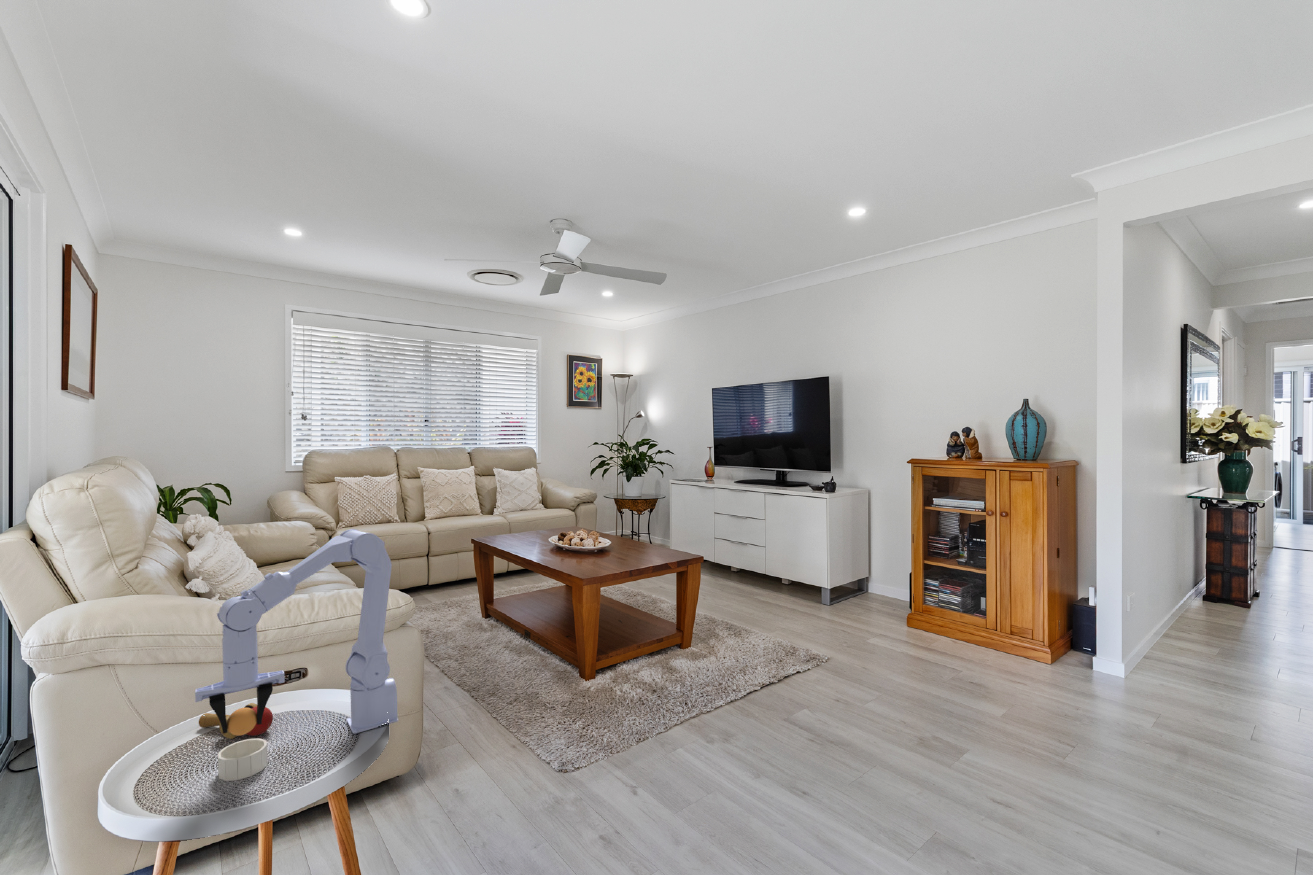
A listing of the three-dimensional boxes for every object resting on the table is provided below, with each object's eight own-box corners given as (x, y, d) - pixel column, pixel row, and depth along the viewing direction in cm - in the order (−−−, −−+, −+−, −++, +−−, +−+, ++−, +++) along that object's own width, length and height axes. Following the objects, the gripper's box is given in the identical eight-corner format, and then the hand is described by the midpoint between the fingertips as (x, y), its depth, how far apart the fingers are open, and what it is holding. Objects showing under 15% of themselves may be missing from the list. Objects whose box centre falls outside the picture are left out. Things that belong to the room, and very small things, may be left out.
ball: (256, 725, 124) (256, 700, 124) (258, 734, 120) (257, 709, 120) (226, 732, 121) (226, 707, 121) (227, 742, 117) (226, 717, 117)
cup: (265, 753, 127) (265, 734, 127) (269, 770, 120) (268, 750, 120) (218, 766, 122) (217, 747, 122) (219, 785, 115) (218, 764, 115)
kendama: (185, 742, 134) (250, 740, 130) (187, 712, 136) (251, 709, 131) (219, 732, 142) (281, 729, 137) (220, 703, 143) (282, 699, 138)
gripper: (281, 644, 128) (282, 708, 128) (194, 661, 120) (196, 730, 120) (285, 654, 123) (286, 721, 123) (194, 672, 114) (196, 744, 114)
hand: (242, 726), depth 121 cm, fingers closed on ball, 5 cm apart
